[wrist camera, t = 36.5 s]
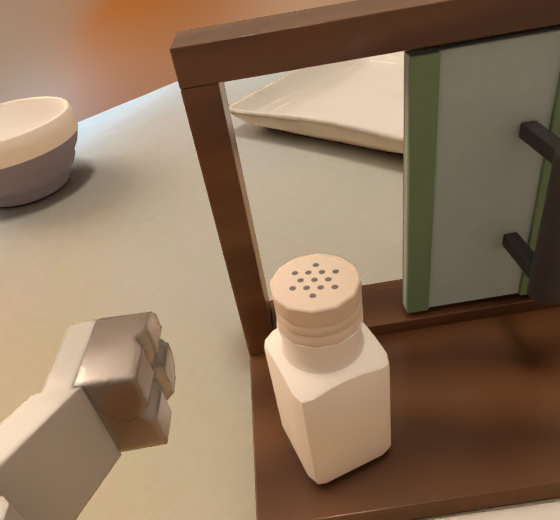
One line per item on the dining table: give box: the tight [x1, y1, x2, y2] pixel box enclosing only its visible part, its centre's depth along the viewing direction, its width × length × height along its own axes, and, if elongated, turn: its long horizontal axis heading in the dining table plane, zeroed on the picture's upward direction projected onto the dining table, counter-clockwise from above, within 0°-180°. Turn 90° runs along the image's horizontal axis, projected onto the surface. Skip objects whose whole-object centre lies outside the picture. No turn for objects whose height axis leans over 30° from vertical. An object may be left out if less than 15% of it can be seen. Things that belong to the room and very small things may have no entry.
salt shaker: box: [264, 254, 391, 484], centre depth 20 cm, size 4×4×10 cm
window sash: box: [403, 24, 560, 313], centre depth 22 cm, size 5×7×14 cm
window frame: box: [170, 0, 560, 520], centre depth 21 cm, size 14×19×18 cm
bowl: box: [0, 96, 78, 207], centre depth 52 cm, size 14×14×8 cm
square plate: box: [229, 51, 405, 154], centre depth 56 cm, size 27×27×4 cm
